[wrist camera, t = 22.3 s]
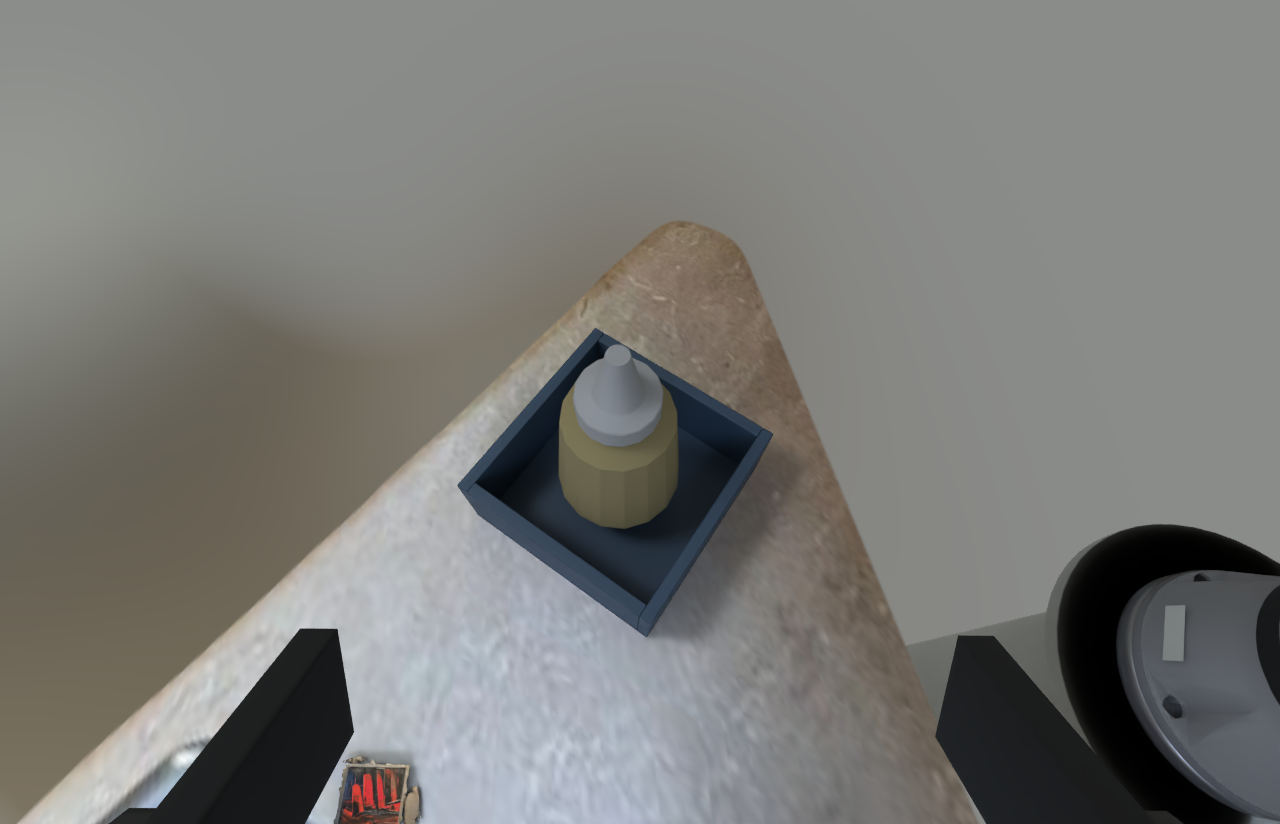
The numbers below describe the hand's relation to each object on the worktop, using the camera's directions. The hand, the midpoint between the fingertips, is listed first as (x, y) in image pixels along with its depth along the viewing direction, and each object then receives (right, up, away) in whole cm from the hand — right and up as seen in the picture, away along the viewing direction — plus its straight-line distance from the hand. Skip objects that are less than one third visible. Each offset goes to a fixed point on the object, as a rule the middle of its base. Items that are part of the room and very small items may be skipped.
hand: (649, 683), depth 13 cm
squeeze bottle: (-2, 0, +31) cm, 31 cm away
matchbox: (-15, -17, +22) cm, 32 cm away
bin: (-2, 0, +31) cm, 31 cm away
